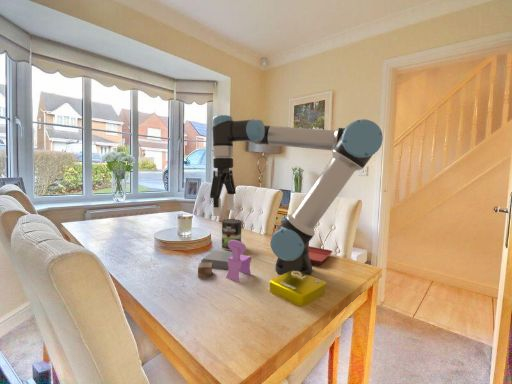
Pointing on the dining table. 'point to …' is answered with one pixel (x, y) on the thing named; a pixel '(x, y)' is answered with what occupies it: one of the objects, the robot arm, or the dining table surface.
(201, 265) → the walnut block
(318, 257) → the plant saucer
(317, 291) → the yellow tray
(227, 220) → the coffee can
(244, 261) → the chair
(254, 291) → the dining table surface
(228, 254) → the plinth
